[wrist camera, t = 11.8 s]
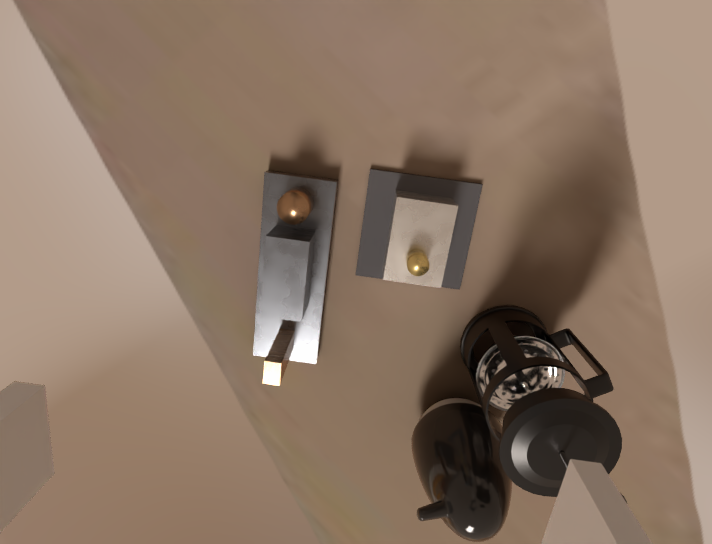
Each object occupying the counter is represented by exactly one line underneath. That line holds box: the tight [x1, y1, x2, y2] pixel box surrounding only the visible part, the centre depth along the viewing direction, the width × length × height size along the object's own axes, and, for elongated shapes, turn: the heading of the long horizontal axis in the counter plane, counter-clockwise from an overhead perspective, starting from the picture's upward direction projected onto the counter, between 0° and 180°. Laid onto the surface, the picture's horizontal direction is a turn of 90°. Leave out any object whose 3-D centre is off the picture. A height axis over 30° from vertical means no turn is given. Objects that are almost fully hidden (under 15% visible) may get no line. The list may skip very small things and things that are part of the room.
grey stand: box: [253, 170, 338, 386], centre depth 45 cm, size 20×7×8 cm, turn 173°
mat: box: [356, 169, 482, 289], centre depth 47 cm, size 11×11×1 cm
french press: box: [460, 305, 627, 503], centre depth 40 cm, size 12×9×23 cm
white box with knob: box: [383, 190, 458, 288], centre depth 44 cm, size 8×6×6 cm
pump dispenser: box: [412, 398, 512, 542], centre depth 47 cm, size 10×10×15 cm
